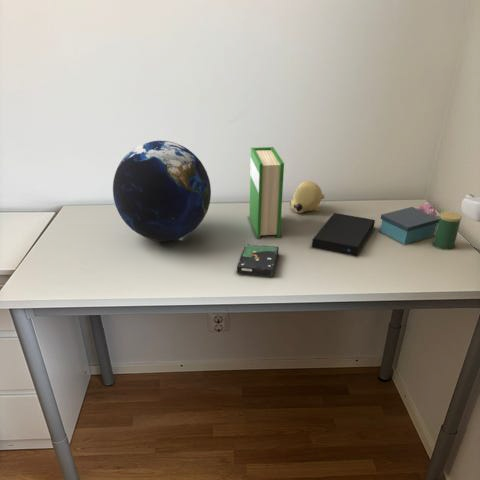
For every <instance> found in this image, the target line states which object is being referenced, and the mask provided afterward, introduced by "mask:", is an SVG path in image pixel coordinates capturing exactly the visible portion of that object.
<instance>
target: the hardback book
mask: <svg viewBox="0 0 480 480" xmlns="http://www.w3.org/2000/svg"><path fill="white" fill-rule="evenodd" d="M284 170H285V162H284V161H283V159H282V158H281V157H280V155H279V153H278V152H277V151H276V149H275V148H274V146H263V147H261V146H260V147H258V146H257V147H250V171H249V172H250V173H249V220H250V222H251V224H252V228H253V230H254V233H255V236H256V238H257V239H261V236H276V238H281V228H282V227H281V226H282V223H281V222H282V209H283V192H284V191H283V190H284V174H285V172H284Z"/></svg>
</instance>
